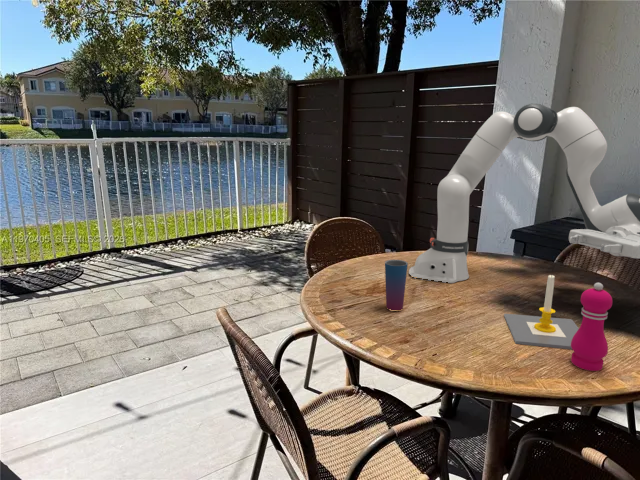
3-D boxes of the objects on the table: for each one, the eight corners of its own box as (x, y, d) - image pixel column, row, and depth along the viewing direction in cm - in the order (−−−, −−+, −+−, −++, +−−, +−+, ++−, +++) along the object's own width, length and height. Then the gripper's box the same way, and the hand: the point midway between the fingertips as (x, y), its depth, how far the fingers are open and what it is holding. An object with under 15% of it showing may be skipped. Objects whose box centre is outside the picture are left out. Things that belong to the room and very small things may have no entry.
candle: (551, 334, 111) (559, 278, 108) (531, 328, 115) (537, 273, 111) (558, 328, 115) (565, 274, 111) (538, 322, 118) (544, 269, 115)
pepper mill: (561, 357, 101) (572, 278, 97) (590, 355, 102) (602, 277, 97) (582, 373, 94) (595, 288, 90) (612, 371, 95) (627, 287, 90)
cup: (405, 314, 127) (407, 266, 124) (382, 312, 128) (384, 265, 125) (405, 305, 134) (407, 260, 130) (384, 304, 135) (385, 259, 131)
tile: (515, 343, 108) (516, 340, 108) (503, 316, 125) (504, 313, 125) (594, 351, 104) (595, 348, 104) (571, 321, 121) (571, 318, 121)
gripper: (589, 223, 131) (556, 225, 126) (660, 238, 113) (625, 241, 108) (586, 242, 133) (553, 246, 128) (656, 260, 114) (620, 265, 109)
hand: (586, 244), depth 118 cm, fingers open, 8 cm apart
